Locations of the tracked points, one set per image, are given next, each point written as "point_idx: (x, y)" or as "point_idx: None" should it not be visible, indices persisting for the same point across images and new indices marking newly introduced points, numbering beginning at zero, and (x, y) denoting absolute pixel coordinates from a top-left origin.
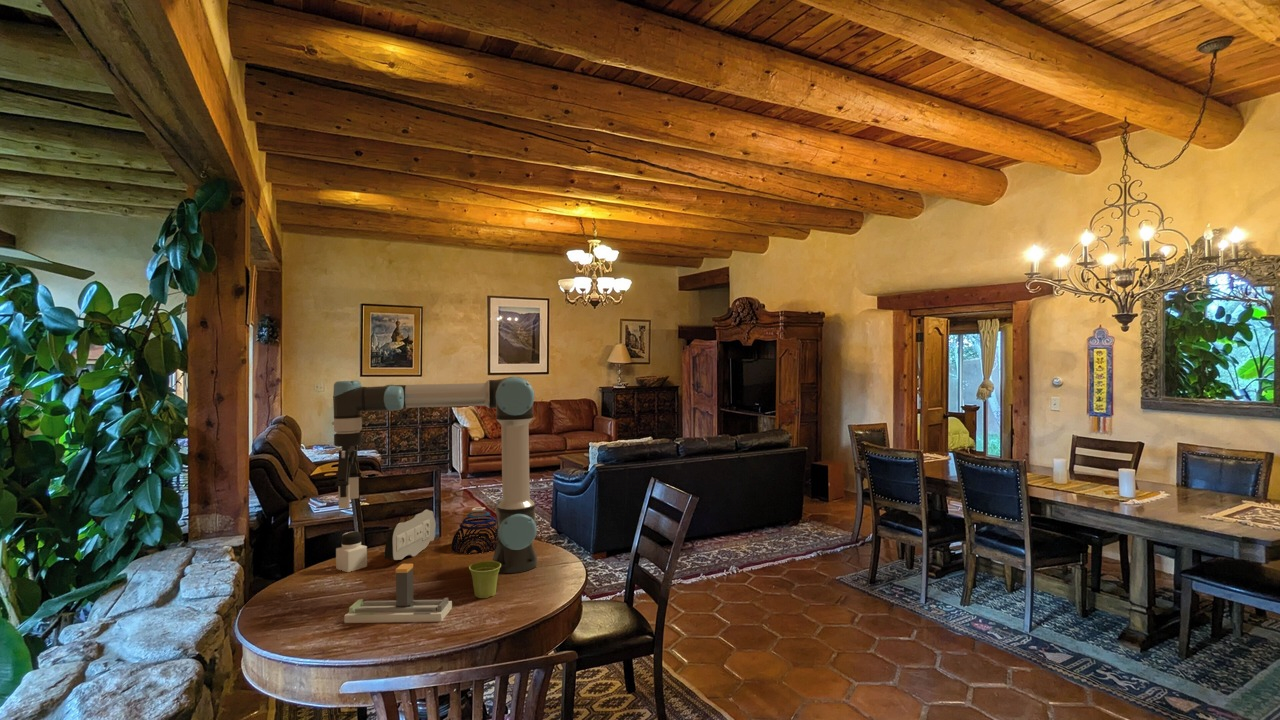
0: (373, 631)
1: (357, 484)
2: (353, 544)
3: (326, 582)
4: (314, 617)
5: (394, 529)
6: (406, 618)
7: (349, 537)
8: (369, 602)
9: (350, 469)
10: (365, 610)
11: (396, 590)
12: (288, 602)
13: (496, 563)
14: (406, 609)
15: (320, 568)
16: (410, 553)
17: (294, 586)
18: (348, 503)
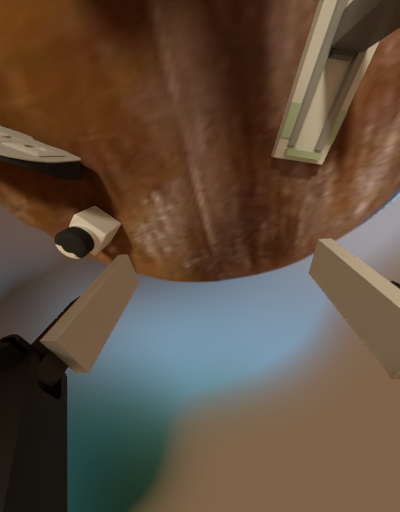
0: (381, 97)
1: (92, 301)
2: (89, 233)
3: (157, 237)
4: (275, 212)
5: (28, 160)
6: None
7: (84, 244)
8: (299, 132)
9: (55, 463)
10: (330, 129)
11: (391, 31)
12: (216, 255)
13: None
14: None
15: (110, 259)
16: (32, 139)
17: (168, 265)
18: (345, 250)
